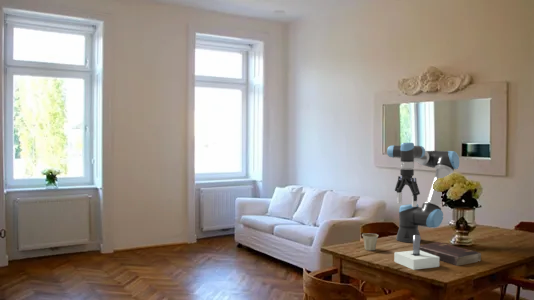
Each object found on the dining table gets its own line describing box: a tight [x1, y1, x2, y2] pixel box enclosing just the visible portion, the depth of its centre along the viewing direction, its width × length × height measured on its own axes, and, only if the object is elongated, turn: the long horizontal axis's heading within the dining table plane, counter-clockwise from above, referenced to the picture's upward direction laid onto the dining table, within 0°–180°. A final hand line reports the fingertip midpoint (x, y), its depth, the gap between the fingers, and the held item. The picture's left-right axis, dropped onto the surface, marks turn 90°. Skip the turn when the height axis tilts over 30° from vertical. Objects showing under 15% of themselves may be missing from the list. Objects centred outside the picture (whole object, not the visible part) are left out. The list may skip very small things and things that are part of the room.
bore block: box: [393, 250, 440, 271], centre depth 244 cm, size 16×16×5 cm
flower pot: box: [361, 232, 379, 251], centre depth 276 cm, size 9×9×9 cm
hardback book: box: [420, 241, 482, 266], centre depth 259 cm, size 29×19×5 cm, turn 28°
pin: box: [412, 234, 421, 256], centre depth 244 cm, size 3×3×14 cm
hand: (406, 205), depth 274 cm, fingers open, 13 cm apart
